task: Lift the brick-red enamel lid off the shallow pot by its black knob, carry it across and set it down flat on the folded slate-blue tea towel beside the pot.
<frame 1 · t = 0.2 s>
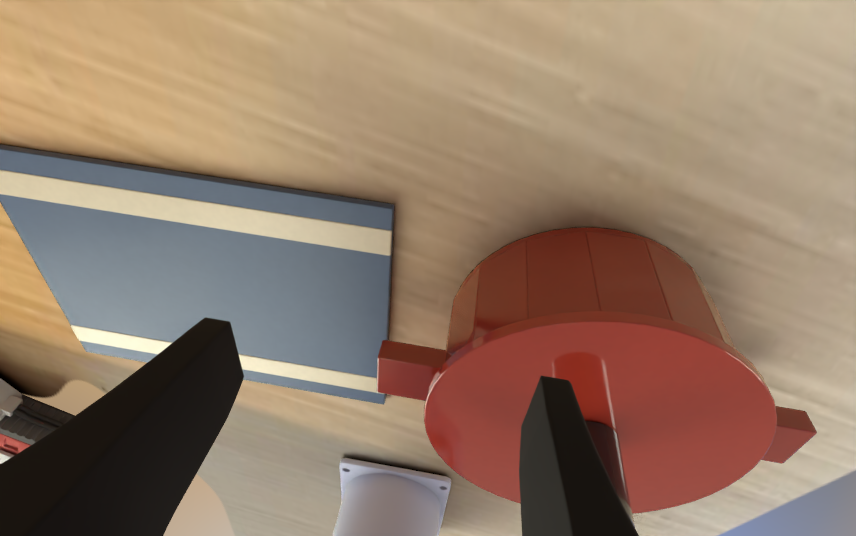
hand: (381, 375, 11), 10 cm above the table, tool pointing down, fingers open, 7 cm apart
lid: (584, 426, 19), point 5 cm above the table, touching pot
pot: (573, 328, 23), on the table
towel: (212, 289, 25), on the table
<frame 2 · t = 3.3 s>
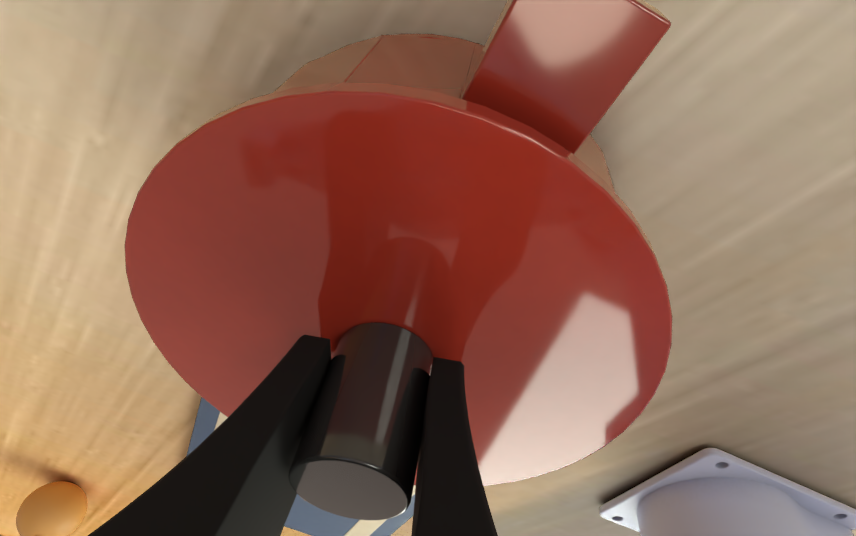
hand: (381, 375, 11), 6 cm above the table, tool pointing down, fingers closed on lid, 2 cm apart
figurine: (87, 488, 36), on the table
lid: (390, 340, 12), point 5 cm above the table, touching gripper, pot
pot: (423, 222, 16), on the table
towel: (315, 462, 28), on the table
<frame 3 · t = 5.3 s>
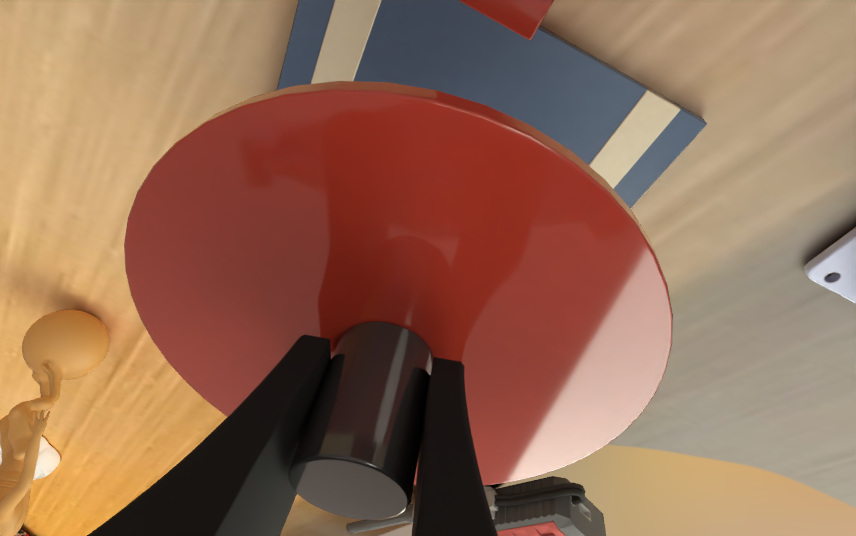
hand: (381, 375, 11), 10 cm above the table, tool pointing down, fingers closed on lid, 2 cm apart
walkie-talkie: (472, 505, 37), on the table
figurine: (108, 327, 30), on the table
lid: (390, 339, 12), point 9 cm above the table, touching gripper
race car: (5, 518, 56), on the table
towel: (412, 230, 21), on the table
when the fingers open (2 cm above the table, at t = 7.8 s): lid stays where it is, resting on towel.
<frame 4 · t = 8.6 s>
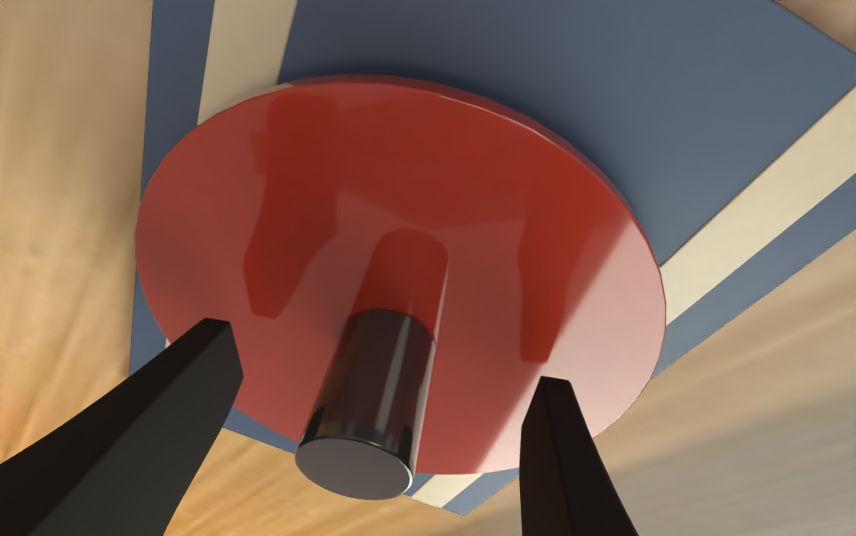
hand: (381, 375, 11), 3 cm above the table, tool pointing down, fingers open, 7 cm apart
lid: (392, 328, 12), point 1 cm above the table, touching towel
towel: (401, 301, 13), on the table
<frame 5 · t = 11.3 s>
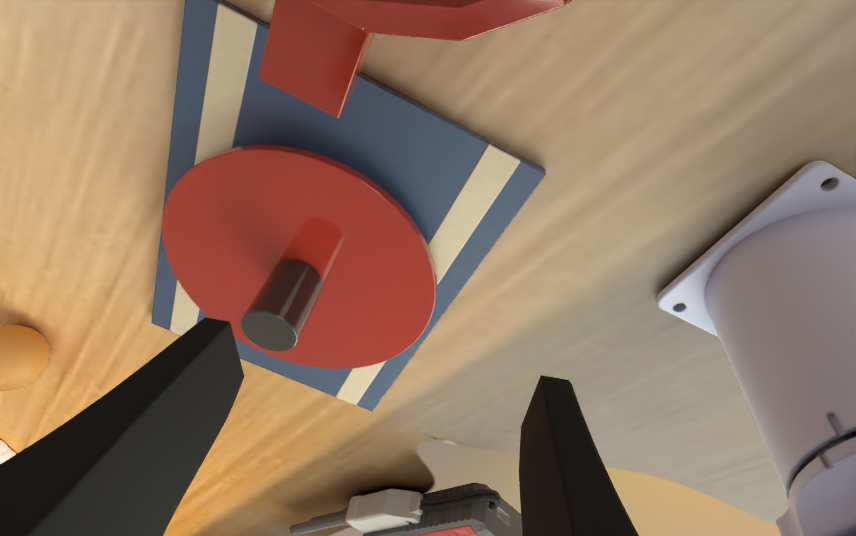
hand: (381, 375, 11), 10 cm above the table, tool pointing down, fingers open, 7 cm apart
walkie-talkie: (407, 509, 39), on the table
figurine: (51, 340, 32), on the table
lid: (302, 272, 23), point 1 cm above the table, touching towel
towel: (310, 259, 23), on the table
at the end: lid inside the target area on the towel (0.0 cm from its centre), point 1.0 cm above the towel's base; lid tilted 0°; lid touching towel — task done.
